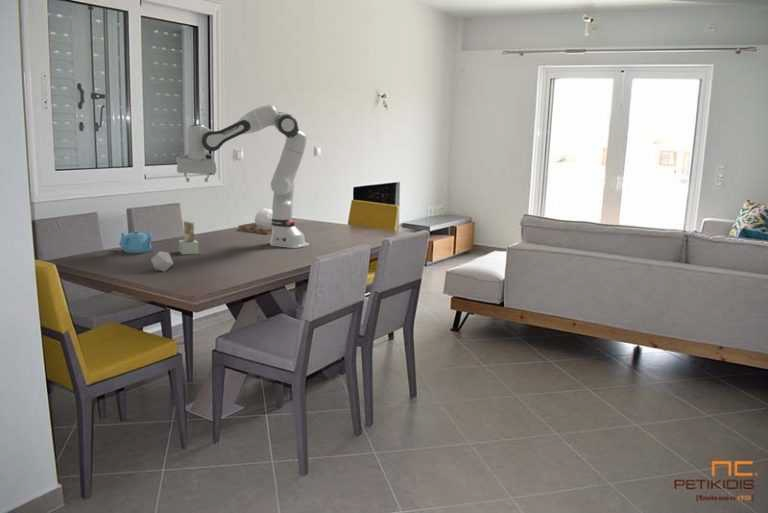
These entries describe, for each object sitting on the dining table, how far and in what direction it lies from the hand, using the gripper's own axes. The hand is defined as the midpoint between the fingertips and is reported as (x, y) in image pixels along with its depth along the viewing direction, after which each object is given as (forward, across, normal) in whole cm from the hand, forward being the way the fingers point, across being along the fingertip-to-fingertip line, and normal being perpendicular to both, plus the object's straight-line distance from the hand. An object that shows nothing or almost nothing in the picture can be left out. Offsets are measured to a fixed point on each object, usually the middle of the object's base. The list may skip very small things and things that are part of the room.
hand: (197, 181), depth 345 cm
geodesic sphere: (+34, +44, +44) cm, 71 cm away
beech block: (+28, -6, -21) cm, 36 cm away
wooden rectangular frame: (+34, +44, +44) cm, 71 cm away
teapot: (+34, -31, -13) cm, 48 cm away
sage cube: (+34, -6, -20) cm, 41 cm away
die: (+34, -20, -58) cm, 71 cm away
